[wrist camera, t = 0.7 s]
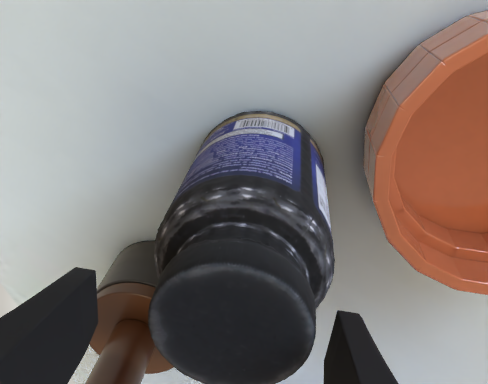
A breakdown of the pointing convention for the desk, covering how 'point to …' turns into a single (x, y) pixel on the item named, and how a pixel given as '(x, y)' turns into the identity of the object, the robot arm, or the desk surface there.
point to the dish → (436, 156)
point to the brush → (126, 320)
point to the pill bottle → (244, 255)
